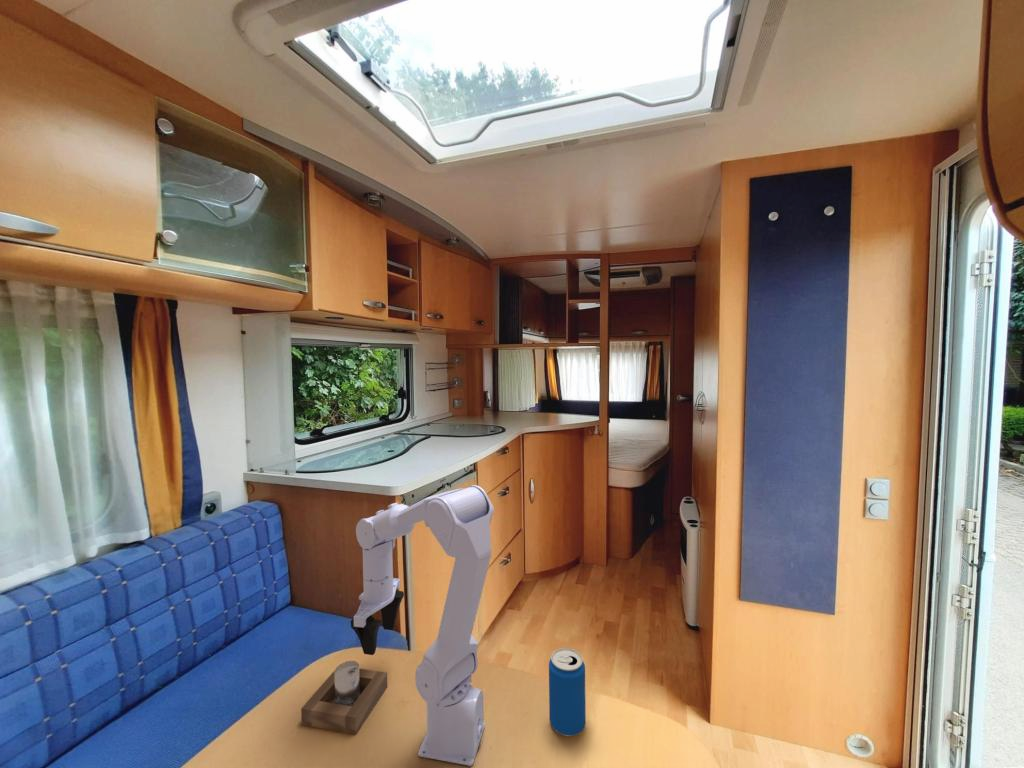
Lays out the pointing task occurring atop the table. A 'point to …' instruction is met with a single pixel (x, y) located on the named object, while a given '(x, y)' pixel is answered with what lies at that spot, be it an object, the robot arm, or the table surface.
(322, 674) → the table surface
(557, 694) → the beverage can
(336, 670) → the metal peg
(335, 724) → the walnut socket block
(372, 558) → the robot arm
